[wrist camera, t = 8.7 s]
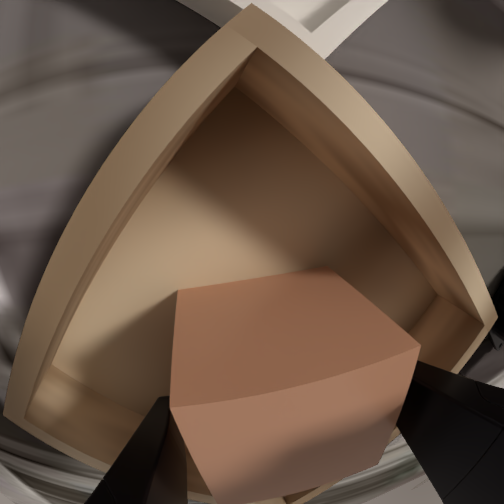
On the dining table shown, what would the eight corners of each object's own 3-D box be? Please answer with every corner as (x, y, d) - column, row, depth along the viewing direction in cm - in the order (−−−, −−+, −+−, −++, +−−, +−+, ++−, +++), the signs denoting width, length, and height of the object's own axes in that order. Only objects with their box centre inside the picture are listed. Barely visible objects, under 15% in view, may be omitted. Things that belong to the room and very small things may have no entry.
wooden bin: (441, 283, 12) (498, 317, 9) (270, 458, 14) (287, 511, 10) (228, 62, 8) (251, 3, 4) (38, 353, 9) (2, 414, 6)
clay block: (327, 266, 10) (420, 345, 5) (323, 375, 11) (377, 464, 7) (177, 289, 9) (169, 407, 4) (205, 399, 11) (219, 507, 6)
